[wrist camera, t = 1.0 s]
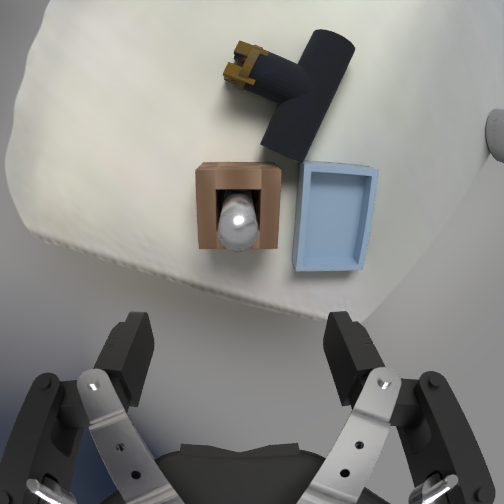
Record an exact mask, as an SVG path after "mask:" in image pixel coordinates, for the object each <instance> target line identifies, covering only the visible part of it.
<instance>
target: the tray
mask: <svg viewBox="0 0 504 504" xmlns="http://www.w3.org/2000/svg"><path fill="white" fill-rule="evenodd" d="M378 172H379V170H377V169H374V168H372V167H369V166H363V165H353V164H343V163H331V162H317V161H303V163H300V162H299V167H298V185H297V201H296V215H295V229H294V241H293V253H292V262H293V265H294V268H295V270H296V271H349V270H363V266H364V261H365V256H366V251H367V246H368V241H369V235H370V229H371V223H372V217H373V210H374V204H375V196H376V189H377V181H378Z"/></svg>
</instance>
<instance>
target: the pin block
mask: <svg viewBox="0 0 504 504" xmlns="http://www.w3.org/2000/svg"><path fill="white" fill-rule="evenodd" d="M195 174H196V203H197V224H198V242H199V249H227V248H226V247H224V246H223V245H222V243H221V242H220V240H219V238H218V227H219V222H220V216H221V214H220V189H257V214H255V216H256V221H257V227H258V237H257V240H256V242H255V243H254V244H253V246H251V247H250V248H249V249H277V248H278V231H279V213H280V192H281V170H280V168H279V167H278V166H277V165H276V164H275V163H267V162H206V163H202V164H201V165H200V166H199V167H198V168H197V169H196V170H195Z"/></svg>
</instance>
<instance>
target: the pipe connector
mask: <svg viewBox="0 0 504 504" xmlns="http://www.w3.org/2000/svg"><path fill="white" fill-rule="evenodd" d="M354 51H355V47H354V45H353V44H352V43H351V42H350V41H349V40H347V39H346V38H345V37H343V36H341V35H339V34H337V33H335V32H332V31H328V30H322V29H319V30H315V31H314V32H313V34H312V36H311V38H310V40H309V42H308V44H307V46H306V48H305V50H304V52H303V54H302V56H301V58H300V60H299V62H298V64H296V63H294V62H291V61H289V60H287V59H285V58H282V57H280V56H278V55H275V54H273V53H271V52H269V51H266V50H264V49H263V48H262V47H259V46H257V45H254V46H253V45H251V44H248V43H245V42H242V41H239V42H238V44H237V46H236V48H235V50H234V54H235V56H234V60H236V61H239V62H242V63H244V65H243V67H241V66H238V65H235V64H233V63H230V62H228V64H227V66H226V68H225V70H224V72H223V76H224V80H227V81H230V82H233V83H235V87H236V88H239V89H242V90H243V89H245V90H248V91H251V92H253V93H255V94H258V95H260V96H263V97H265V98H268V99H270V100H272V101H274V102H277V103H279V104H278V106H277V108H276V111H275V113H274V115H273V117H272V119H271V121H270V124H269V126H268V128H267V130H266V132H265V134H264V137H263V139H262V141H261V143H260V145H262V146H265V147H267V148H269V149H271V150H273V151H275V152H278V153H280V154H282V155H284V156H287V157H289V158H291V159H293V160H296V161H298V162H300V163H303V161H304V159H305V157H306V155H307V152H308V150H309V148H310V146H311V144H312V142H313V140H314V138H315V135H316V133H317V131H318V129H319V127H320V125H321V123H322V120H323V118H324V116H325V114H326V112H327V110H328V108H329V106H330V103H331V101H332V99H333V97H334V95H335V93H336V90H337V88H338V86H339V84H340V82H341V80H342V78H343V75H344V73H345V71H346V69H347V67H348V65H349V62H350V60H351V58H352V56H353V54H354Z"/></svg>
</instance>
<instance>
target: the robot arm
mask: <svg viewBox="0 0 504 504" xmlns="http://www.w3.org/2000/svg"><path fill="white" fill-rule="evenodd" d="M486 138H487V144H488V147H489V150H490V152H491V154H492V156H493V157H494V158H495V159H496V160H497V161H500V162H503V163H504V110H503V109H495V110H493V111H492V112H491V113H490V115H489V117H488V120H487V125H486ZM323 348H324V352H325V355H326V358H327V361H328V364H329V367H330V370H331V373H332V376H333V379H334V382H335V386H336V389H337V392H338V395H339V398H340V401H341V404H342V406H347V405H351V407H352V412H351V414H350V416H349V418H348V419H347V421H346V423H345V425H344V427H343V429H342V431H341V433H340V434H339V436H338V438H337V440H336V442H335V444H334V445H333V447H332V449H331V450H330V452H329V454H328V455H327V457H326V458H324V457H322V456H320V455H318V454H315V453H312V452H309V451H304V450H299V446H298V443H292V444H280V445H268V446H265V447H261V448H257V449H253V450H249V451H245V452H234V451H229V450H225V449H221V448H216V447H212V446H207V445H206V446H205V445H190V444H181V448H180V451H175V452H171V453H168V454H165V455H162V456H160V457H159V458H157V459H154V457H153V456H152V454H151V453H150V451H149V450H148V448H147V446H146V445H145V443H144V442H143V440H142V438H141V437H140V435H139V433H138V432H137V430H136V428H135V426H134V424H133V423H132V421H131V419H130V417H129V415H128V414H127V412H128V408H129V406H133V407H138V404H139V400H140V397H141V393H142V389H143V386H144V382H145V379H146V375H147V372H148V368H149V365H150V361H151V358H152V355H153V351H154V337H153V333H152V329H151V325H150V320H149V316H148V314H147V313H146V312H130V313H129V315H128V317H127V319H126V321H125V322H119V323H118V324H117V325H116V326H115V327H114V328H113V329H112V330H111V332H110V334H109V336H108V339H107V340H106V342H105V345H104V347H103V349H102V351H101V353H100V355H99V357H98V359H97V361H96V363H95V366H94V368H93V369H90V370H87V371H85V372H84V373H82V374H81V375H80V376H79V378H78V380H73V381H62V382H60V380H59V379H58V377H57V376H56V375H55V374H53V373H43V374H41V375H39V376H38V377H37V378H36V379H35V380H34V382H33V383H32V386H31V388H30V390H29V392H28V394H27V396H26V398H25V401H24V403H23V405H22V407H21V410H20V412H19V415H18V417H17V419H16V422H15V424H14V427H13V430H12V432H11V434H10V437H9V440H8V442H7V445H6V448H5V451H4V454H3V457H2V460H1V463H0V504H76V500H75V498H74V496H73V495H72V494H71V493H70V487H71V482H72V477H73V472H74V468H75V463H76V459H77V455H78V450H79V447H80V443H81V439H82V435H83V431H84V428H89V429H90V432H91V434H92V437H93V439H94V441H95V444H96V446H97V448H98V451H99V453H100V455H101V457H102V459H103V461H104V463H105V466H106V468H107V469H108V471H109V473H110V475H111V477H112V479H113V481H114V483H115V485H116V486H117V488H118V489H117V490H116V491H115V492H114V493H112V494H111V495H110V496H108V497H107V498H106V499H104V500H103V501H102V502H100V503H99V504H390V503H388V502H387V501H385V500H384V499H382V498H381V497H379V496H378V495H376V494H375V493H373V492H372V491H370V490H369V489H367V488H366V487H364V486H365V484H366V482H367V480H368V478H369V476H370V474H371V472H372V470H373V468H374V465H375V463H376V461H377V459H378V456H379V454H380V452H381V449H382V447H383V444H384V442H385V439H386V437H387V434H388V431H389V429H390V426H396V427H397V430H398V433H399V437H400V439H401V443H402V446H403V449H404V452H405V455H406V459H407V462H408V465H409V469H410V472H411V476H412V479H413V483H414V487H415V488H414V489H413V491H412V492H411V494H410V496H409V504H493V501H494V499H495V487H494V484H493V482H492V479H491V476H490V473H489V470H488V468H487V466H486V463H485V460H484V458H483V455H482V453H481V450H480V448H479V446H478V443H477V441H476V439H475V437H474V435H473V432H472V430H471V428H470V426H469V423H468V422H467V419H466V417H465V415H464V413H463V411H462V409H461V407H460V405H459V403H458V401H457V399H456V397H455V395H454V393H453V391H452V390H451V388H450V386H449V384H448V382H447V381H446V379H445V378H444V376H442V375H441V374H440V373H437V372H434V371H428V372H425V373H423V374H422V375H421V377H420V378H419V380H413V379H402V378H400V376H399V375H398V374H397V373H396V372H395V371H394V370H392V369H390V368H386V367H385V365H384V363H383V361H382V359H381V357H380V355H379V353H378V351H377V349H376V347H375V346H374V344H373V342H372V340H371V338H370V336H369V334H368V332H367V330H366V329H365V328H364V327H363V326H362V325H361V324H360V323H359V322H357V321H356V322H352V320H351V318H350V316H349V314H348V313H347V312H346V311H341V312H330V313H329V315H328V320H327V325H326V329H325V334H324V338H323Z"/></svg>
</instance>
